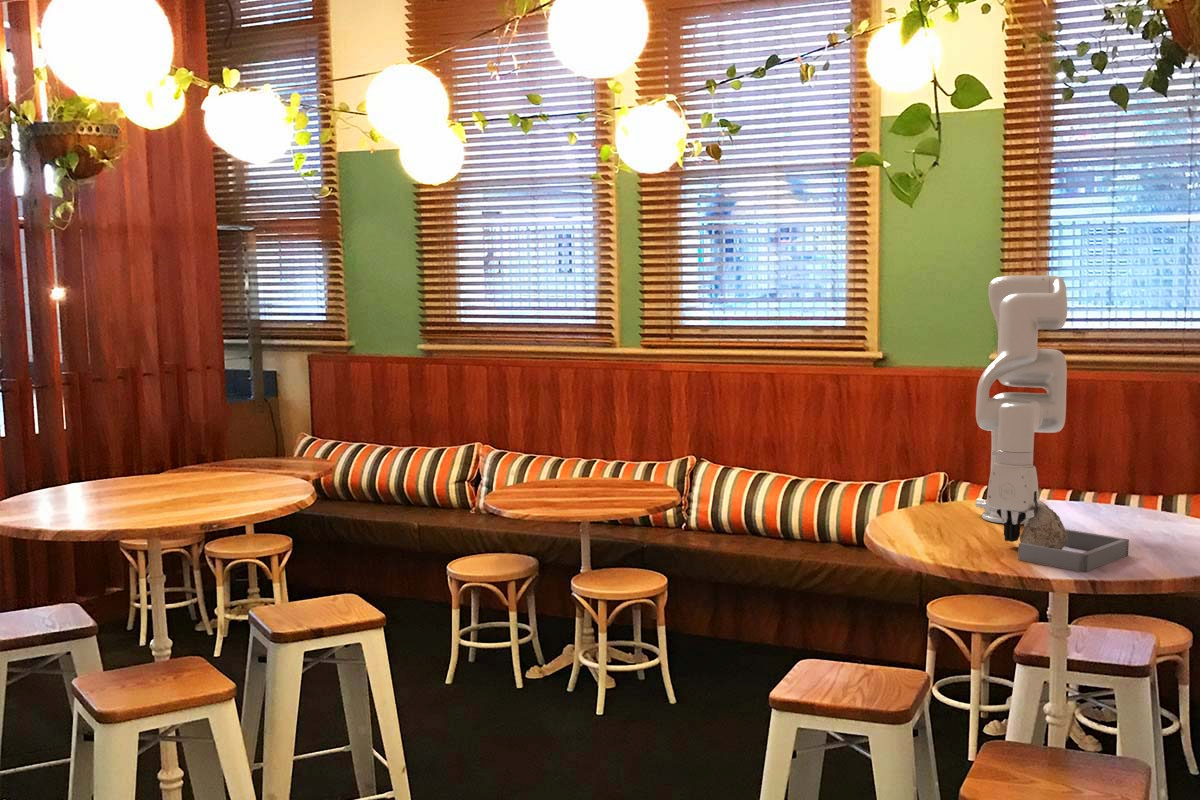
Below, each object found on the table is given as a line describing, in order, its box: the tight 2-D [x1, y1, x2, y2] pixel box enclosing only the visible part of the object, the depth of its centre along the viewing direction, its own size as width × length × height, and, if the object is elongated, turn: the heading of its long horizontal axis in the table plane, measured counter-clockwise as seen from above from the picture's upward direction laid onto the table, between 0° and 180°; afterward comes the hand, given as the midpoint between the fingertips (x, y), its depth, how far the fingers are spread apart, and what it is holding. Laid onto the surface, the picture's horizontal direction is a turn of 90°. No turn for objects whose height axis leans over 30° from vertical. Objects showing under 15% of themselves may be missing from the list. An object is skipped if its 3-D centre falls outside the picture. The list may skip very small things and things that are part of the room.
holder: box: [1017, 528, 1130, 573], centre depth 247 cm, size 14×21×4 cm, turn 133°
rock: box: [1019, 500, 1068, 550], centre depth 253 cm, size 14×10×8 cm
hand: (1011, 540), depth 257 cm, fingers closed
